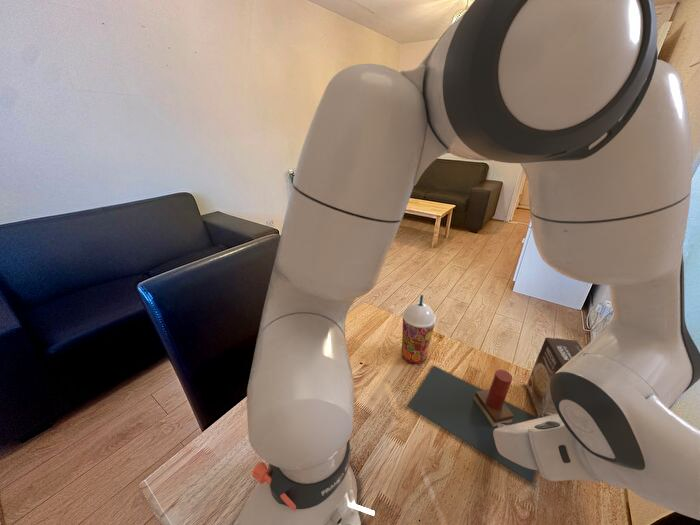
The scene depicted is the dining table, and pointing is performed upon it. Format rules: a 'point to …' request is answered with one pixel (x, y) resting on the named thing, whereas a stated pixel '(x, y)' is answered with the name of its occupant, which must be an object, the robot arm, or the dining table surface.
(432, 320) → the smoothie
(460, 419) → the mat
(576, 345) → the coffee box
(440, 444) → the dining table surface
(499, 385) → the red cylinder on base
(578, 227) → the robot arm
